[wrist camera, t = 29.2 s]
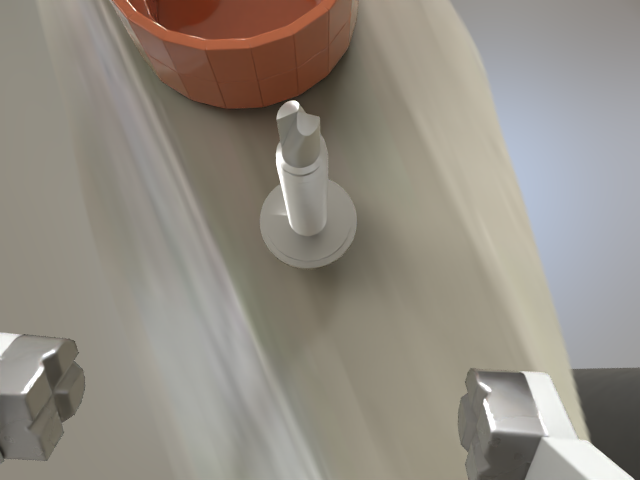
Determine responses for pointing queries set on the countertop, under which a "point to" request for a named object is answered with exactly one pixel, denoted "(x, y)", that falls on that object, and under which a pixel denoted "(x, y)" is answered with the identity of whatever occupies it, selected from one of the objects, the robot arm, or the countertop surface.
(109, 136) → the countertop surface
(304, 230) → the screw
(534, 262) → the countertop surface
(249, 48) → the bowl
